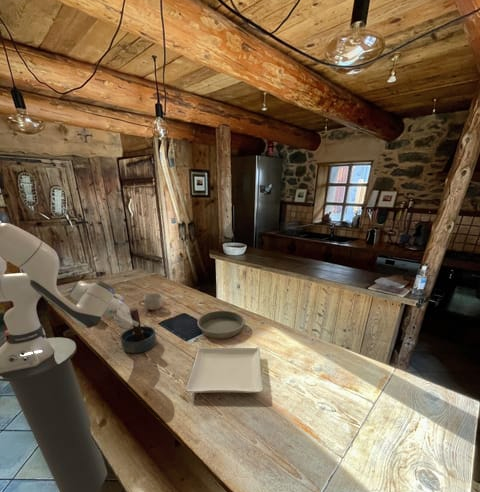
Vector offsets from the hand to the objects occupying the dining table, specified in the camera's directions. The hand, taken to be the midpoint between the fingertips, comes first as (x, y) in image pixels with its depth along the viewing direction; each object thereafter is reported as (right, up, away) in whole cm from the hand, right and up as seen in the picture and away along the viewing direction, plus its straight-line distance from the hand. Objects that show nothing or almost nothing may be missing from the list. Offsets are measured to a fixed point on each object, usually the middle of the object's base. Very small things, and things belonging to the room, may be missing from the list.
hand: (137, 322), depth 123 cm
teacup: (-6, +6, +39) cm, 40 cm away
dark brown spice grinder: (0, -8, +3) cm, 9 cm away
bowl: (0, -11, +2) cm, 11 cm away
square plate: (+43, -19, -18) cm, 50 cm away
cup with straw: (-22, +1, +30) cm, 38 cm away
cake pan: (+38, -4, +16) cm, 41 cm away
